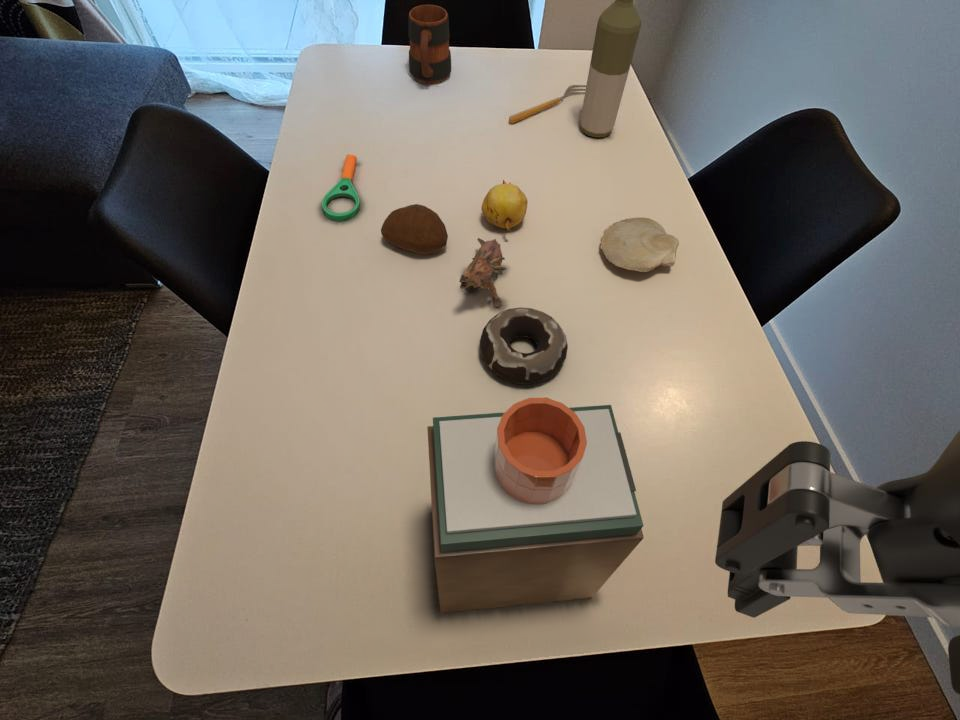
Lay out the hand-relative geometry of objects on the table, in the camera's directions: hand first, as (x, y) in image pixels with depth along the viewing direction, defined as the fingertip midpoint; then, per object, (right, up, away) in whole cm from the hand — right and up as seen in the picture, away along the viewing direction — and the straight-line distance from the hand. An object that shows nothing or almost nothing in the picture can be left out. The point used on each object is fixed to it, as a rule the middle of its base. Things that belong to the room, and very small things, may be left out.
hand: (848, 629), depth 24 cm
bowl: (-11, +3, +20) cm, 23 cm away
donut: (-10, +12, +54) cm, 56 cm away
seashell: (+9, +28, +66) cm, 72 cm away
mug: (-26, +69, +93) cm, 118 cm away
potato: (-26, +30, +65) cm, 76 cm away
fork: (-2, +61, +88) cm, 107 cm away
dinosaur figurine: (-15, +23, +61) cm, 67 cm away
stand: (-12, -10, +38) cm, 41 cm away
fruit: (-12, +34, +69) cm, 78 cm away
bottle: (+6, +55, +84) cm, 101 cm away
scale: (-11, +2, +22) cm, 25 cm away
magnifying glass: (-38, +40, +72) cm, 91 cm away
